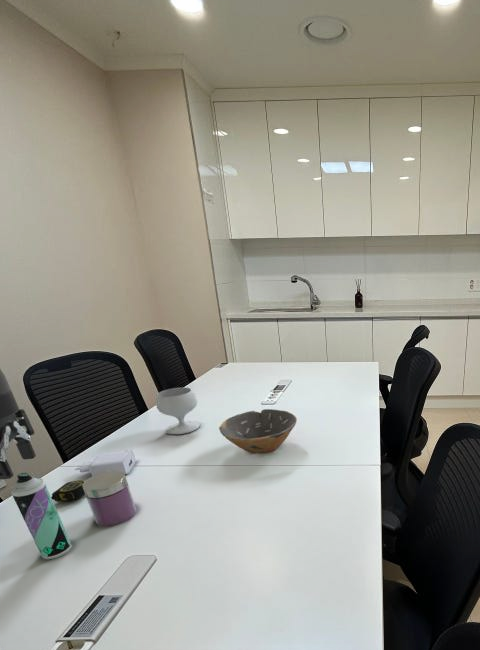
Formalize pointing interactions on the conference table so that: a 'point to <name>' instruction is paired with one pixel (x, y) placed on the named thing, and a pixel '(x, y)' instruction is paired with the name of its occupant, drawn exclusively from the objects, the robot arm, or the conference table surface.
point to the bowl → (258, 430)
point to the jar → (113, 507)
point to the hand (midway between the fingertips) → (18, 467)
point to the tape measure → (69, 491)
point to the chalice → (177, 408)
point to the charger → (110, 463)
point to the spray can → (40, 516)
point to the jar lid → (104, 484)
